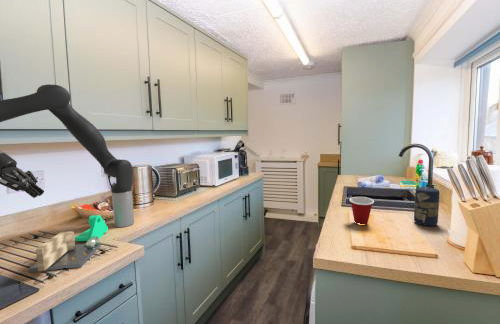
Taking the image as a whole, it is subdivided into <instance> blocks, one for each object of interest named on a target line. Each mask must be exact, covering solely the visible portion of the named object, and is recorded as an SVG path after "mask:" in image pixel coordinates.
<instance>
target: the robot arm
mask: <svg viewBox="0 0 500 324" xmlns="http://www.w3.org/2000/svg"><path fill="white" fill-rule="evenodd" d="M70 102H71V93H70V92H69V91H68V90H67V88H66V87H63V86H61V85H58V84H50V83H49V84H42V85H41V86H39V87H37V89H36V91H35V92H34V93H31V94H27V95H23V96H17V97H14V98H13V97H12V98H7V99H5V98H4V99H0V123H2V122H7V121H9V120H13V119H16V118H19V117H21V116H25V115H28V114H32V113H38V112H42V111H49V112H50V113H51V114H53V115H54V116H55V118H57V119H58V120H59V121H60V122H61V123H62V124H63V126H64V127H65V128H66V129H67V131H68V132H70V134H71V135H72V136H73V137H74V138H75V139H76V141H78V143H80V145H81V146H83V148H85V150H86V151H88V152H89V154H90V155H91V156H92V157H93V158H94V159H95V160H96V161H97V162H98V163H99V164H100V166H101V167H102V168H103V170H104V172H106V174H107V175H108V176H109V177H112V178H114V179H115V184H114V185H112V186H111V189H110V191H111V192H110V193H111V201H112V213H113V225H114V227H116V228H125V227H130V226H132V225H134V223H135V215H134V212H135V211H134V201H133V189H132V188H133V184H134V175H133V174H134V173H133V171H134V170H133V165H132V163H131V162H130V161H129V160H127V159H117V158H116V157H115V156H114V155H113V154H112V153H111V152H110V151H109V148H108V146H107V143H106V140H105V138H104V135H103V134H102V133H101V132H100V131H99V130H98V129H97V127H96V126H95V125H94V124H93V123H92V122H90V120H88V119H87V118H86V117H84V116H83V115H82V114H80V113H79V112H78V111H77V110H75V109H74V108H73V107H72V105H71V103H70ZM17 164H18V162H17V160H15V159H14V158H13V157H11V156H10V155H9V154H8V153H6V152H5V151H3V150H2V149H0V185H2V186H4V187H7V188H8V189H11V190H13V191H15V192H25V193H26V194H28V195H29V196H30V197H31V198H33V199H36V198H37V197H40V196H42V195H43V194H44V193H45V190H44V189H42V188H41V187H39V186H38V185H37V183H38V182H39V181H38V179H37V178H36V177H35V175H34V174H33V172H32V171H31V170H27V171H23V170H22V169H21V168H19V167H17Z"/></svg>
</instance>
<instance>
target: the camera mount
mask: <svg viewBox="0 0 500 324" xmlns="http://www.w3.org/2000/svg"><path fill="white" fill-rule="evenodd" d="M87 221H88V225H89V226H90V228H89V229H87V230H85V231H83V232H81V233H79V234H78V235H75V236H74V238H75V242H87V241H88V240H89V239H90V238H92V237H93V236H97V237H98V238H99V239H101V238H102V237H103V235H104V234H105V233H107V232H108V231H109V227H108V225H107V224H106V222H105V221H104V219H103V218H102V215H99V214H98V215H97V214H96V215H90V216H89V218H88V220H87Z"/></svg>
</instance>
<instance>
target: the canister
mask: <svg viewBox="0 0 500 324" xmlns="http://www.w3.org/2000/svg"><path fill="white" fill-rule="evenodd" d="M439 206H440V190H439V189H438V188H434V187H430V186H427V187H426V186H425V187H424V186H422V187H421V186H420V187H417V188H416V189H415V193H414V206H413V207H414V208H413V209H414V211H413V212H414V213H413V221H414V222H415V223H417V224H419V225H423V226H429V227H432V226H436V225H438V223H439V211H440V210H439Z"/></svg>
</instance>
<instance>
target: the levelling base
mask: <svg viewBox="0 0 500 324" xmlns="http://www.w3.org/2000/svg"><path fill="white" fill-rule="evenodd" d="M99 241H100V238H98V237H97V236H93V237H92V238H90V239H89V240H88V241H85V243H81V244H80V243H79V244H78V243H77V244H75V248H74V249H73V250H70V251H67V252H66V253H65V254H63V255H62V256H61V257H60V258H59V259H58V260H56V261H55V262H54V263H53V264H52V265H51V266H50V267H48V268H47V269H46V270H45V271H44V272H49V271H58V270H57V269H61V270H64V269H63V268H69V269H70V270H71V269H79V268H82V267H83V266H84V265H85V264H86V263H87V262H88V261H89V260H90V258H91V257H92V256H93V255H94V254H95V253H96V252H97V251H98V250H99V249H100V248H101V246H102V245H101V244H102V243H101V242H99ZM97 249H98V250H97ZM96 250H97V251H96ZM69 269H68V270H69ZM28 271H29V273H38V272H42V271H38V264H37V262H36V263H34V264H33V265H31V266H30V267H29V268H28Z"/></svg>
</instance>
